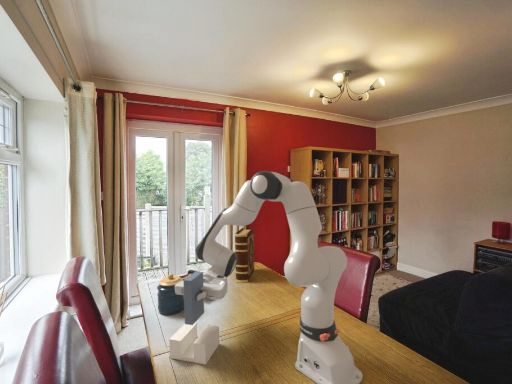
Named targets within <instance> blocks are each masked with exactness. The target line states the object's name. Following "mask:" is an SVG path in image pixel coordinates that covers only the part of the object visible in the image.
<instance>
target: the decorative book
mask: <svg viewBox="0 0 512 384" xmlns="http://www.w3.org/2000/svg"><path fill="white" fill-rule="evenodd" d="M254 232H255V231H254V228H253V227H252V228H251V229H244V227H242V228H240V229H239V230H238V231H237V232H235V233H233V235H234V252H235V253H236V256H237V264H236V267H235V270H234V271H235V272H234V273H235V283H239V284H245V283H249V281H250V279H251V277H252V276H253V274H254V272H255V233H254Z"/></svg>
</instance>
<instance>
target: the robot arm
mask: <svg viewBox="0 0 512 384" xmlns="http://www.w3.org/2000/svg"><path fill="white" fill-rule="evenodd" d="M266 201H270V202H281V203H282V205H283V208H284V211H285V214H286V218H287V219H286V220H287V223H288V226H289V230H290V235H291V236H290V237H291V244H290V251H289V254H288V256H287V259H286V260H285V262H284V266H283V272H284V277H285V278H286V281H288V283H289V284H290V285H292V286H293V287H295V288H297V287H298V288H301V287H303V288H304V287H306V288H305V289H304V291H303V292H302V294H301V297H300V317H299V331H300V335H299V338H298V347H297V354H296V361H295V365H294V368H295V369H296V370H297V371H298V372H300V373H301V374H303V375H304V376H305V377H307V378H308V379H310V380H312V381H313V382H314V383H316V384H360V383H361V382H362V380H363V373H362V371H361V370H360V369H359V368H358V367H357V366H356V365H355V360H354V356H353V354H352V353H351V350H350V347H349V345H346V344H345V343H344V341H343V340H342V339H341V337H340V336H339V333H341V331H340V330H341V328H337V325H336V321H335V319H334V317H335V315H334V312H335V309H334V308H335V297H336V293H337V292H336V291H337V288H338V285H339V282H340V279H341V277H342V275H343V273H344V271H345V270H346V269H347V266H348V257H347V256H346V255H347V254H346V253H345V251H343V250H342V249H341V247H338V246H333V245H331V246H330V245H325V246H320V247H318V239H319V235H320V234H321V232H322V230H323V225H322V223H321V222H322V221H321V219H320V215H319V213H318V209H317V206H316V202H315V200H314V196H313V195H312V192H311V190H310V189H309V187H308V185H307V184H306V182H303V181H293V180H292V179H291V177H289V176H286V175H283V174H281V173H278V172H275V171H268V170H262V171H259V172H256V173H255V174H254V175H253V176H252V177H251V179H250V180H249V179H248V180H246V181H245V182H244V183H243V184H242V186H241V188H240V189H239V191H238V193H237V195H236V197H235V199H234V202H232V204H231V205H230V206H229V207H226V208H224V209H222V210H221V212H220V213H219V214H218V215H217V217H216V218H214V221H213V222H212V223H211V226H210V227H209V229H208V230H207V231H206V234H205V235H204V236H203V237H202V239H201V240H200V241H199V243H198V244H197V246H196V248H195V254H196V258H197V259H198V260H200V261H202V262H205V263H207V264H208V265H210V266H211V267H209V268H208V269H207V270H205V271H203V272H204V273H203V286H202V287H201V290H202V293H200V294H196V295H195V300H197V301H199V300H200V299H202V298H204V299H205V298H207V299H214V300H222V299H224V298H225V296H227V294H228V289H229V288H228V287H229V286H228V284H229V283H228V278H229V276H231V275H232V273H233V272H234V271H235V270H236V264H237V256H236V253H235V251H233V250H232V249H230V248H228V247H226V246H224V245H223V244H221V243H219V242H217V241H216V238H217V236H218V235H219V234H220V232H221V230H222V229H223V227H224V226H227V225H228V226H229V225H230V226H237V227H244V226H248V225H250V224H252V223H253V222H254V221H255V220H256V218H257V216H258V214H259V212H260V210H261V208H262V206H263V203H264V202H266ZM175 293H176V294H178V295H184V282H183V281H181V282H179V283H177V284H176V285H175Z"/></svg>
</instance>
